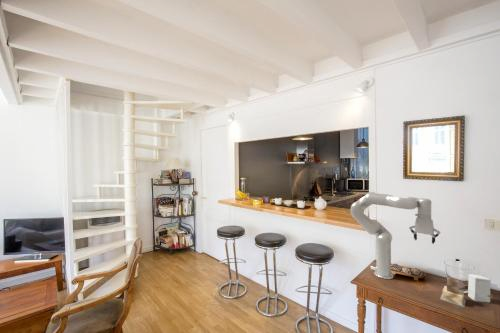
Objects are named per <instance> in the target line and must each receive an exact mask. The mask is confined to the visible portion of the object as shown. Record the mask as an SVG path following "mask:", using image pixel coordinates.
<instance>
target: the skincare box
mask: <svg viewBox="0 0 500 333" xmlns="http://www.w3.org/2000/svg"><path fill="white" fill-rule="evenodd" d="M467 276H468V277H467V278H468V284H467V285H468V287H467V288H468V290H467V293H468V294H467V297H469V298H470V299H471V300H473V301H474V302H481V303H483V302H484V303H491V281H492V280H491V279H490V278H489V277H486V276H485V275H481V274H479V275H478V274H471V273H468V275H467Z"/></svg>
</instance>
